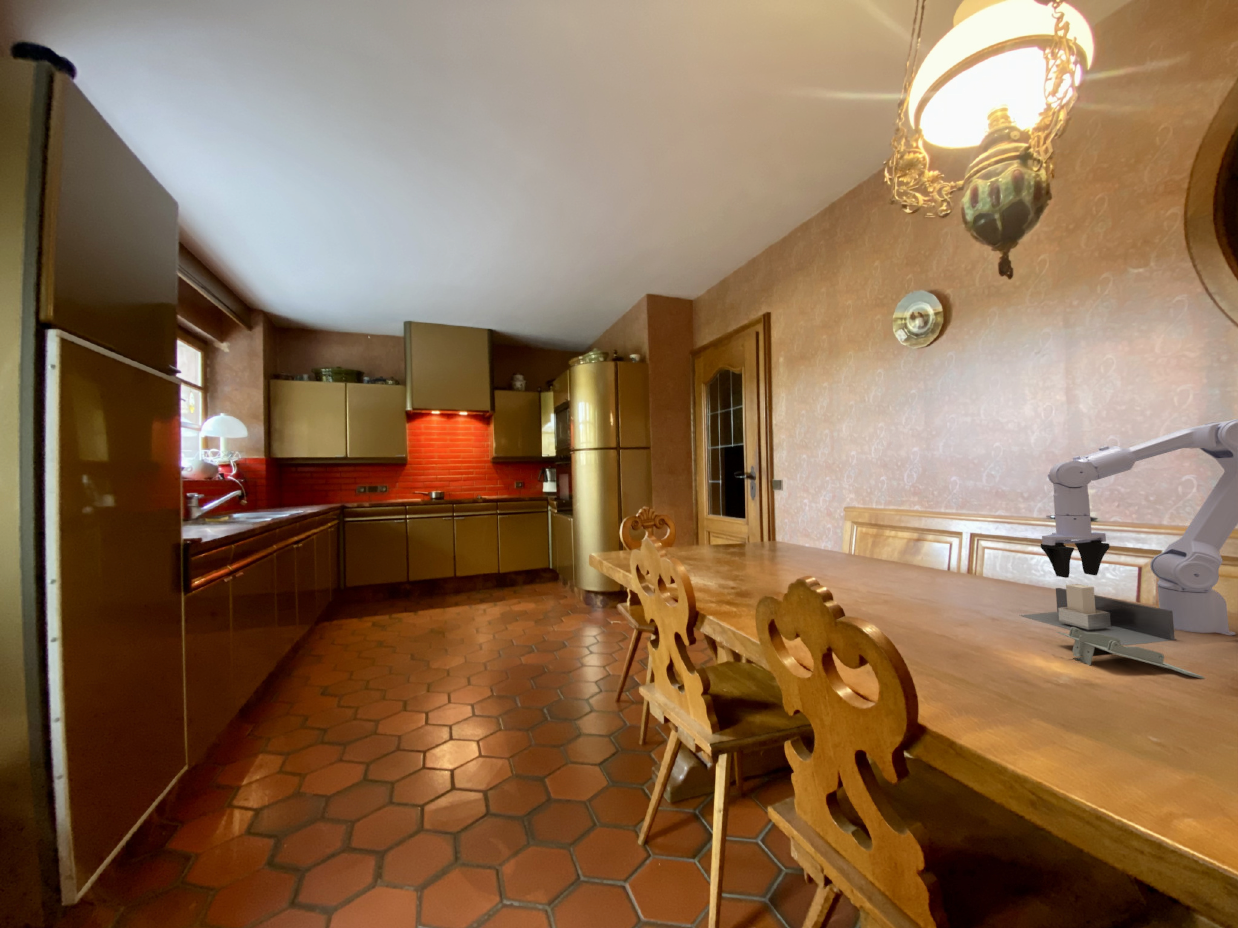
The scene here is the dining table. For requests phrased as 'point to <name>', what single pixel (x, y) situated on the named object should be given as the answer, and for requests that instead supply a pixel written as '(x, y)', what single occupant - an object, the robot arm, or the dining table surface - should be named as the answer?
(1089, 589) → the beige rectangular block
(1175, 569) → the robot arm
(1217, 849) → the dining table surface
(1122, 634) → the mounting board
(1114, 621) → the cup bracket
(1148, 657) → the metal bracket
